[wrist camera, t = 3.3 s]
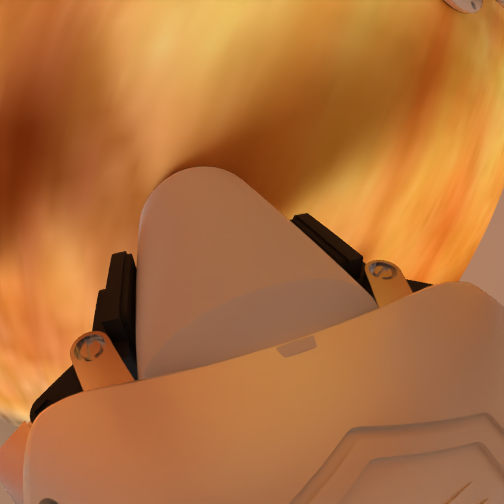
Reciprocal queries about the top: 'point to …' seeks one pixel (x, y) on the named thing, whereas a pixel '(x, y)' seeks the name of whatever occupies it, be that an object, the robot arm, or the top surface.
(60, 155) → the top surface
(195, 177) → the beverage can
